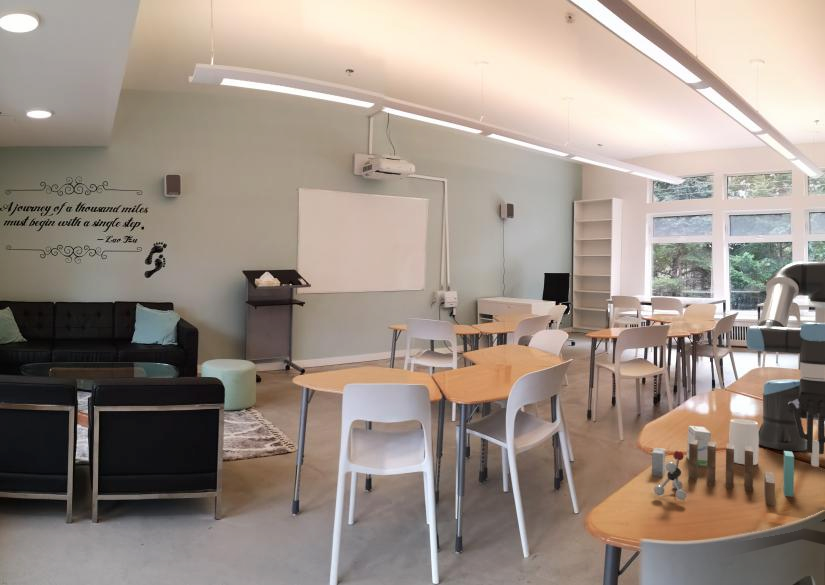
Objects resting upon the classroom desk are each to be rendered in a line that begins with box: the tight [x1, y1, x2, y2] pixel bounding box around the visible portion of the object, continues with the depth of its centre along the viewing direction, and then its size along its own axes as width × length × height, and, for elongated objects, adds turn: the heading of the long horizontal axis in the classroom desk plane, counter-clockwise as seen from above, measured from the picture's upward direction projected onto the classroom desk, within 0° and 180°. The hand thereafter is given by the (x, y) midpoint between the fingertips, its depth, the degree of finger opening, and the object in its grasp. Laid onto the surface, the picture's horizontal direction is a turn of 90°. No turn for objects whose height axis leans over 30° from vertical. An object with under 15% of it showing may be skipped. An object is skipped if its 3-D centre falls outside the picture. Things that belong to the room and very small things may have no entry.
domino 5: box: [764, 471, 776, 507], centre depth 158 cm, size 2×6×11 cm
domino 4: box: [743, 446, 754, 492], centre depth 168 cm, size 2×6×11 cm, turn 151°
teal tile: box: [782, 450, 795, 498], centre depth 163 cm, size 2×6×11 cm, turn 151°
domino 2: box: [706, 441, 717, 486], centre depth 172 cm, size 2×6×11 cm, turn 151°
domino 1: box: [688, 439, 699, 483], centre depth 175 cm, size 2×6×11 cm, turn 151°
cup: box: [728, 418, 760, 466], centre depth 190 cm, size 8×8×14 cm
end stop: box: [651, 446, 666, 478], centre depth 179 cm, size 3×7×7 cm, turn 151°
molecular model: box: [653, 450, 687, 501], centre depth 162 cm, size 8×12×11 cm
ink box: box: [686, 425, 712, 468], centre depth 189 cm, size 9×5×12 cm, turn 168°
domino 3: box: [725, 443, 735, 489], centre depth 170 cm, size 2×6×11 cm, turn 151°
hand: (814, 465), depth 160 cm, fingers closed
